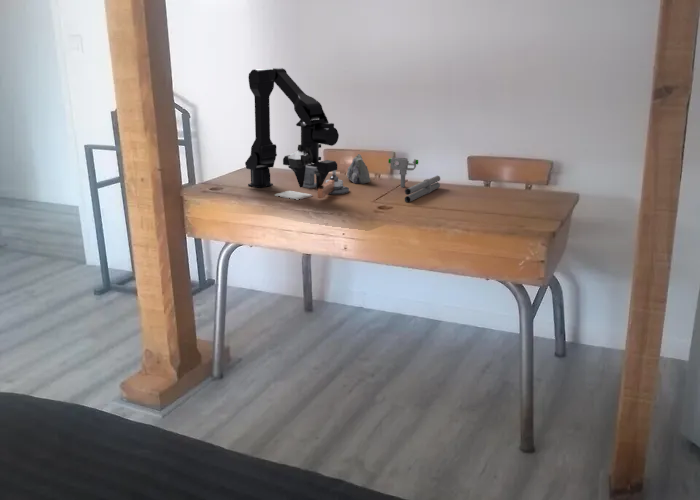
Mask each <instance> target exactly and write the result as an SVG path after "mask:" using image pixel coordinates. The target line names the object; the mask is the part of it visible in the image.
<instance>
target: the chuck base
mask: <svg viewBox="0 0 700 500" xmlns="http://www.w3.org/2000/svg"><path fill="white" fill-rule="evenodd" d="M349 191H350V187H349V186H348V187H347V186H344V185H343V189H339V190H333V191H331V192H330V193H329V194H328V195H335V196H336V195H345V194H348V193H349Z"/></svg>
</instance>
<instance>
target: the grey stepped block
mask: <svg viewBox="0 0 700 500" xmlns="http://www.w3.org/2000/svg"><path fill="white" fill-rule="evenodd" d="M317 170H318V169H317V167H313V166H307V165H306V169H305V177H304V184H303V187H302V188H305V189H306V188H307V189H314V188H316V182H315V173H314V171H317Z"/></svg>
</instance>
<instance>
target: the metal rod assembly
mask: <svg viewBox="0 0 700 500" xmlns="http://www.w3.org/2000/svg"><path fill="white" fill-rule="evenodd" d="M440 181H441V176H440V175H435V176H433V177H431V178H426V179H424V180H422V181H421V182H419V183H416V184H415V185H412V186H410V187H408V188H405V190H404V193H405V195H406V196H405V197H404V202H406V203H408V202H412V201H414V200H416V199H419V198H420V197H422V196H425V195H429V194H430V193H431V192H433V191H435V190H438V189H439V188H441V183H440Z"/></svg>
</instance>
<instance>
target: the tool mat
mask: <svg viewBox="0 0 700 500" xmlns="http://www.w3.org/2000/svg"><path fill="white" fill-rule="evenodd" d="M274 196H275V197H278V196H280V197H279V198H283V199H289V198H290V199H289V200H294V199H296V200H295V201H299V199H300V200H303V199H307V198H311V197H313V194H311V193H305V192H299V191H293V190H286V191H282V192H278V193H275V194H274Z"/></svg>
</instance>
